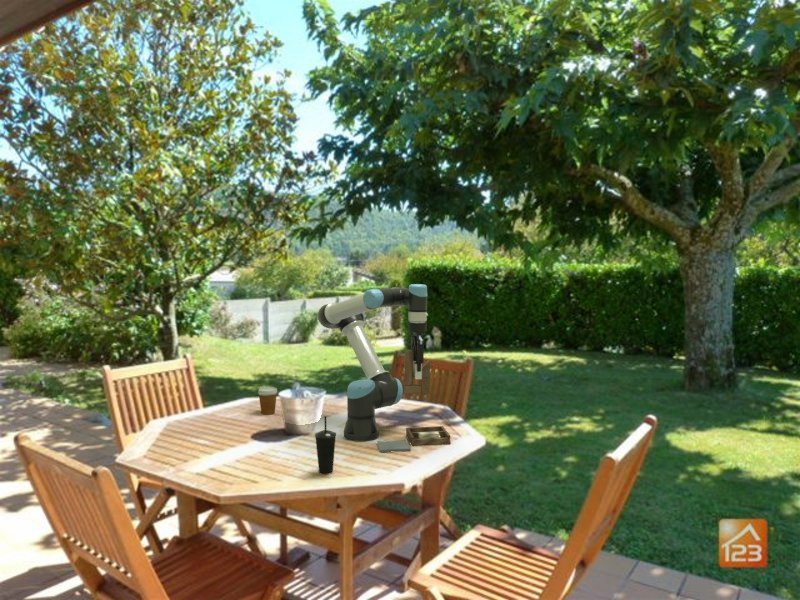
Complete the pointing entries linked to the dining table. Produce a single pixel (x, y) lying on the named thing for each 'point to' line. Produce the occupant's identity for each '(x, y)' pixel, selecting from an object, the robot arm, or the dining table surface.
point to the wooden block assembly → (408, 376)
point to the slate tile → (393, 446)
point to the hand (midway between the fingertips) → (416, 377)
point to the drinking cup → (325, 449)
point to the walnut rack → (415, 441)
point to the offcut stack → (428, 435)
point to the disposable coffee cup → (267, 400)
